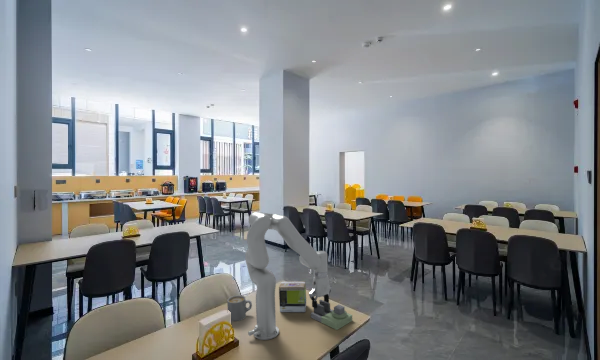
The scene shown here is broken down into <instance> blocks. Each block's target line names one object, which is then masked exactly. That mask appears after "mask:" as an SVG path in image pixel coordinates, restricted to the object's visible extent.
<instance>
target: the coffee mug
mask: <svg viewBox="0 0 600 360" xmlns="http://www.w3.org/2000/svg"><path fill="white" fill-rule="evenodd" d="M226 301H227V304H226V305H227V311H228V310H229V311H230V312H231V322H239V321H242V320H244V319H245V318H246V316H247V312H248V311H250V310H252V307H253V304H252V301H251V300H250V299H246V297H245V296H244V295H241V294H239V295H237V294H236V295H232V296H229V297H228V298H227V300H226ZM248 303H249V306H248V307H247V304H248Z"/></svg>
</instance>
